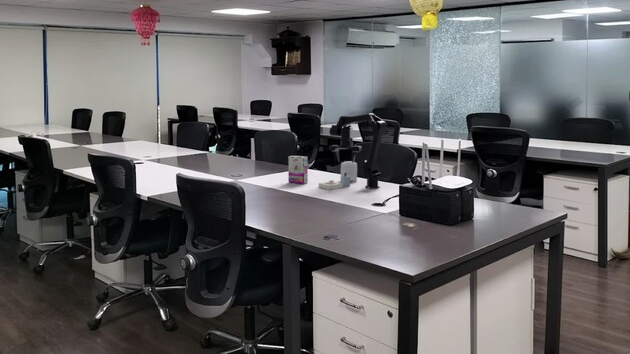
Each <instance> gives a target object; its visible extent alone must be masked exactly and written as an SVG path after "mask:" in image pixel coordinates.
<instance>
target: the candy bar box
mask: <svg viewBox="0 0 630 354" xmlns="http://www.w3.org/2000/svg"><path fill="white" fill-rule="evenodd" d="M308 158H309V157H308V156H302V155H289V156H288V157H287V159H288V161H287V163H288V165H287V166H288V175H287V176H288V183H289V184H295V185H296V184H297V185H306V184H308V172H309V171H308V170H309V169H308V166H309V165H308Z"/></svg>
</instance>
